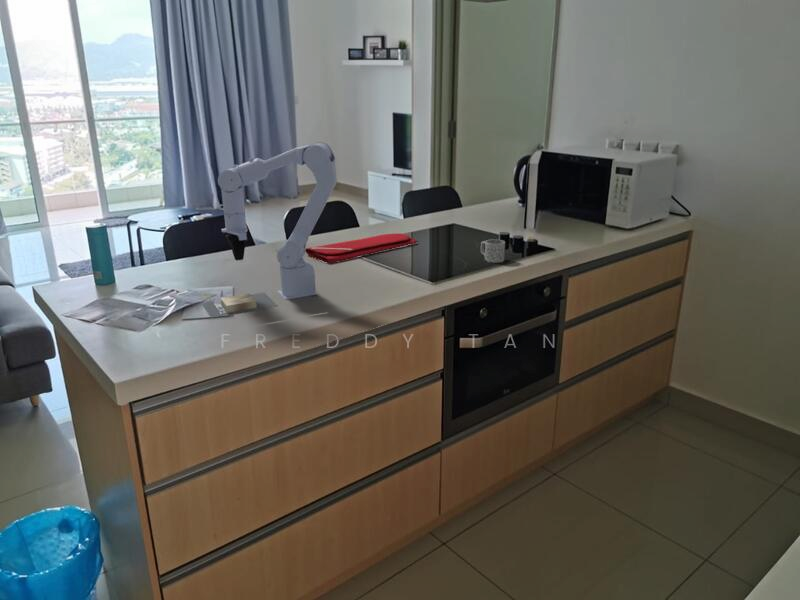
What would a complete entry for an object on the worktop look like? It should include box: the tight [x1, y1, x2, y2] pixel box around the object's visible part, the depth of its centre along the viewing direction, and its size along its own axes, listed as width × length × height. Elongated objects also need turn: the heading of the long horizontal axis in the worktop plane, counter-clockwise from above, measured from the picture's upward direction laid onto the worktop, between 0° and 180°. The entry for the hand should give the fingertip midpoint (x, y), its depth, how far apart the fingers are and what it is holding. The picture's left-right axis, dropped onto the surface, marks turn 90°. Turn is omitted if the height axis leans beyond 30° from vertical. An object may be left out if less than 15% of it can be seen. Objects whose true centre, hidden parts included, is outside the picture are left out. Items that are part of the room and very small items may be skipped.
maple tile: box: [219, 293, 257, 313], centre depth 164 cm, size 8×2×7 cm
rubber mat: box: [201, 292, 279, 319], centre depth 166 cm, size 18×13×1 cm
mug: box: [480, 238, 506, 264], centre depth 207 cm, size 10×7×7 cm, turn 37°
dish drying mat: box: [305, 233, 419, 264], centre depth 221 cm, size 16×41×4 cm, turn 130°
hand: (239, 259), depth 172 cm, fingers closed
